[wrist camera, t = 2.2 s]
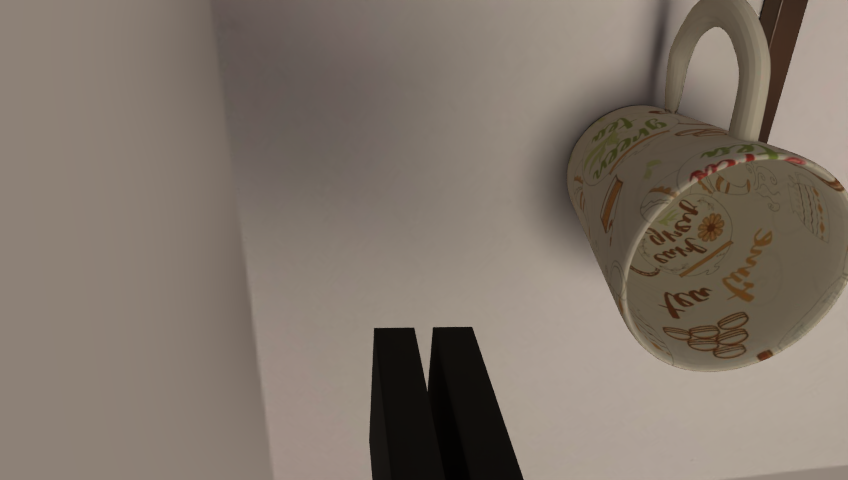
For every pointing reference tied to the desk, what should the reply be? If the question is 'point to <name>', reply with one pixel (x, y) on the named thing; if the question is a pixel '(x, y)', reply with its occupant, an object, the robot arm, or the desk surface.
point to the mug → (710, 216)
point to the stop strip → (779, 50)
